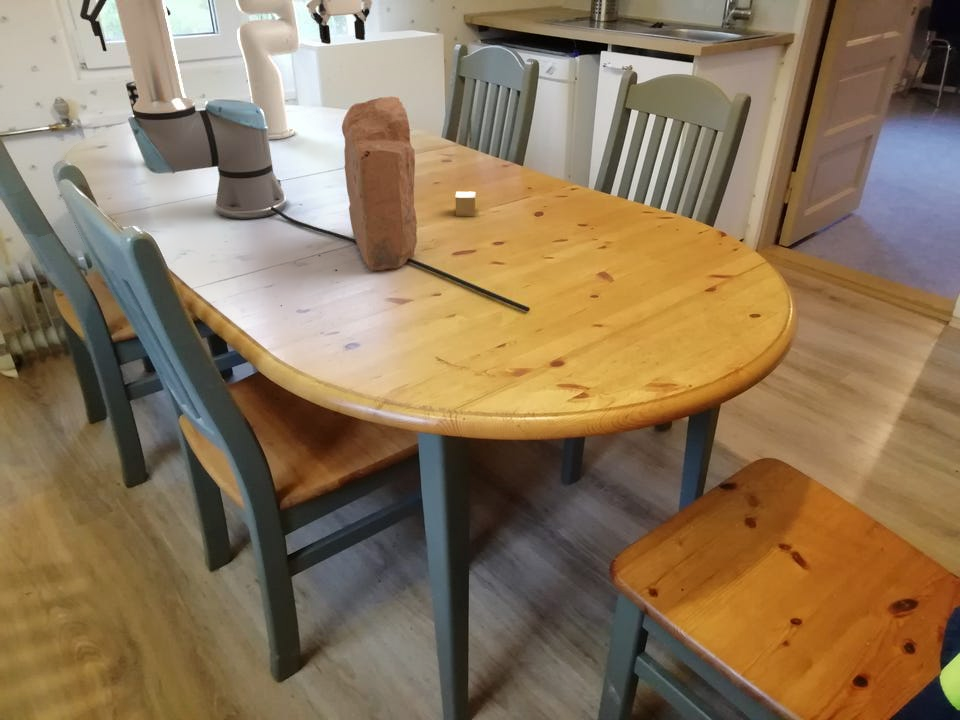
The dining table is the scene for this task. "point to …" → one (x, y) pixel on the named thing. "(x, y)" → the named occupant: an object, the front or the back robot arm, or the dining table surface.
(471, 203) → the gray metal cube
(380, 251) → the stone
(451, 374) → the dining table surface
